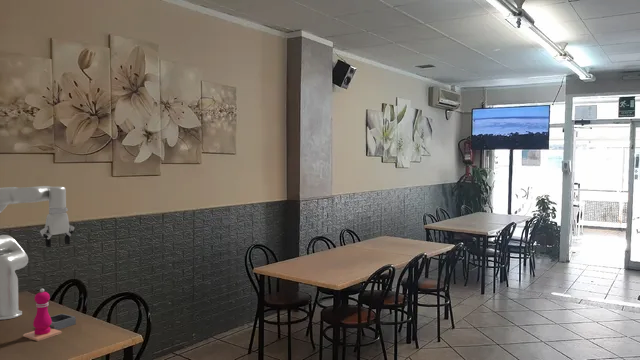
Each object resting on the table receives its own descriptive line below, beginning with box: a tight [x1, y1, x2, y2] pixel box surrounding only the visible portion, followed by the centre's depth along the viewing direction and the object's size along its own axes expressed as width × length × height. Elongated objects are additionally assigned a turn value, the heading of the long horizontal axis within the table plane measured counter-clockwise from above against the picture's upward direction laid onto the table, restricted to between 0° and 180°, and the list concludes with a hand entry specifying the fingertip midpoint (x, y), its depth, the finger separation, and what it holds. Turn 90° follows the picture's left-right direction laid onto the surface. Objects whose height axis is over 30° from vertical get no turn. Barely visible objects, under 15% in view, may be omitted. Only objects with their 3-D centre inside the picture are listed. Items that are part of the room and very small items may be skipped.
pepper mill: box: [32, 288, 52, 335], centre depth 217 cm, size 7×7×20 cm
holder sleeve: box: [49, 313, 77, 330], centre depth 229 cm, size 11×11×4 cm
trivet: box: [23, 328, 63, 342], centre depth 217 cm, size 11×11×1 cm
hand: (58, 245), depth 240 cm, fingers open, 9 cm apart
